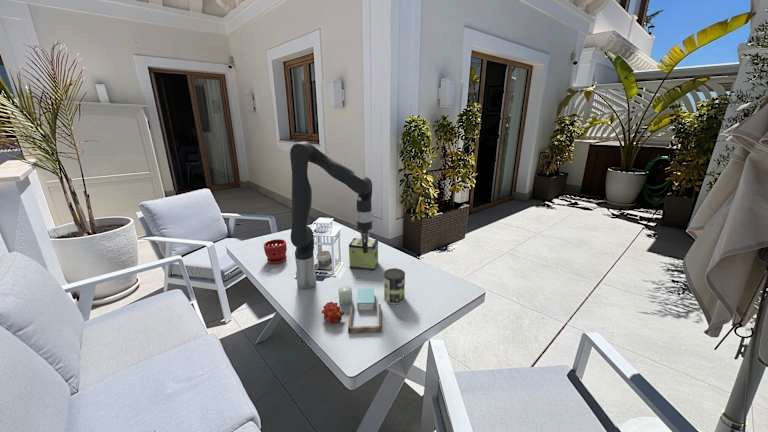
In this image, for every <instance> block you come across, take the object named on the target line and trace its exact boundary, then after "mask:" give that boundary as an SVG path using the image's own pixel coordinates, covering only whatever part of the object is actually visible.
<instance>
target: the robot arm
mask: <svg viewBox="0 0 768 432" xmlns="http://www.w3.org/2000/svg"><path fill="white" fill-rule="evenodd" d="M289 156H290V157H289V158H290V167H291V219H292V220H291V228H290V229H291V230H290V242H291V244H292V245H293V246H294V247H296V249H295V251H294V257H295V258H294V259H295V266H296V270H295V277H296V285H297V289H302V290H311V289H312V288H314V287H315V286H316V285H317V276H316V270H315V269H316V267H315V257H314V251H315V239H314V232H313V230H312V228H311V227H310V226H309V225H308V218H309V215H310V213H311V206H312V202H313V201H312V199H313V198H312V197H313V193H312V186H311V183H310V181H309V175H308V167H309V163H311V164H314V165H316V166H318V167H320V168H321V169H323V170H324V171H325V172H326V173H327V174H328V175H329V176H331V177H332V178H334V179H335V180H337V181H338V182H340V183H342V184H344V185H345V186H347V187H348V188H349V189H351V190H352V191H353V192H354V193H355V194H358V196H357V199H356V229H357V230H358V231H360V238H361V242H362V247H363V253H368V241H369V239H370V238H369V237H370V231H371V230H372V229H373V213H372V212H373V210H372V208H373V207H372V205H373V204H372V196H373V195H372V194H373V182H372V180H371V179H370V178H369V177H368V176H363V177H359V176H357V175H356V174H355V172H354V171H353V170H351V169H350V168H348V167H346V166H344V165H343V164H340V163H339V162H337V161H335V160H334V159H332V158H331V157H329V156H328V155H326V154H325V153H324V152H322V151H321V150H319V149H318V148H317V147H316V146H314V145H313V144H311V143H310V142H309V141H300V142H297V143H294V144H293V145H292V146H291V148H290V152H289Z"/></svg>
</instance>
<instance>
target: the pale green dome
mask: <svg viewBox="0 0 768 432" xmlns="http://www.w3.org/2000/svg"><path fill="white" fill-rule="evenodd" d="M352 289H353V288H352V287H351V286H349V285H343V286H340V287H338V290H337V292H338V305H341V306H343V307H344V306H345V307H347V306H351V305H352V303H353V290H352Z"/></svg>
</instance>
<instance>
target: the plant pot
mask: <svg viewBox="0 0 768 432" xmlns="http://www.w3.org/2000/svg"><path fill="white" fill-rule="evenodd" d="M287 249H288V248H287V241H286V239H282V238H278V239H277V238H275V239H270V240H269V241H266V242H264V243H263V250H264V253H265V256H266V259H267V260H266V261H267V262H268V263H269V264H280V263H282V262H284V261H286V260H287V258H288V255H286V254H287V251H288V250H287Z"/></svg>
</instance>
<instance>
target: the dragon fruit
mask: <svg viewBox="0 0 768 432" xmlns="http://www.w3.org/2000/svg"><path fill="white" fill-rule="evenodd" d="M338 305H339V302H333V301H330V302H326V304H325V305H323V309H322V310H321V314H323V319H324V321H325V322H326V321H327V322H329V323H331V325H332V324H333V325H337V322H338V323H339V322H342V319H343V316H344V314H345V311H343V310H342V308H341V306H338Z"/></svg>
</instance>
